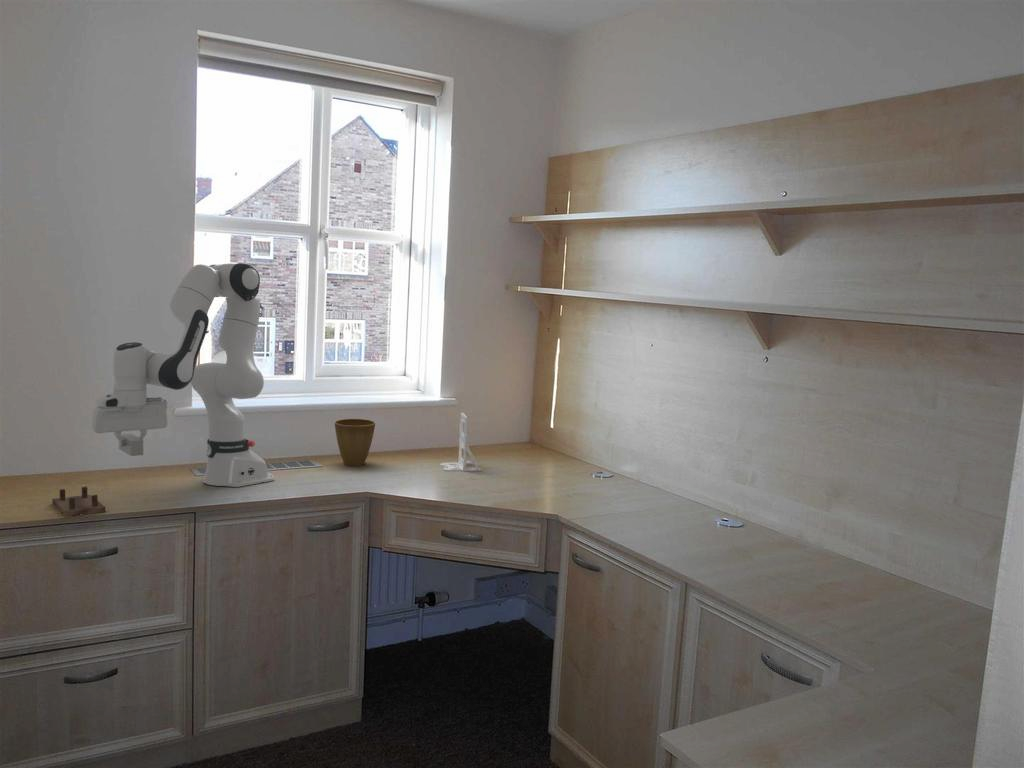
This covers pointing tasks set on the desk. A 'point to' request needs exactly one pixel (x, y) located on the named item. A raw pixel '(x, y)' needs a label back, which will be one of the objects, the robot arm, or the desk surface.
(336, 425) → the plant pot
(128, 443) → the grey rectangular block
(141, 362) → the robot arm
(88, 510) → the footed brown board
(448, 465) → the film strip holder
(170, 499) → the desk surface
